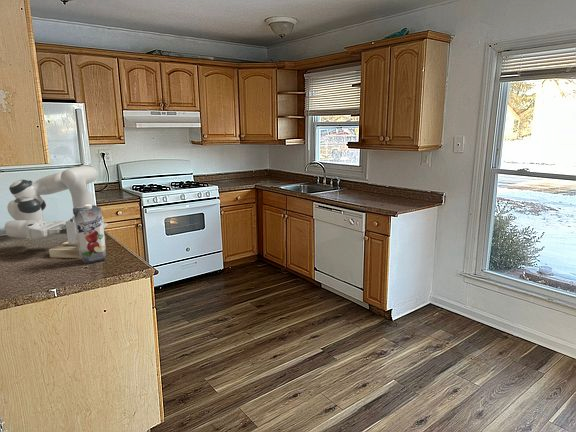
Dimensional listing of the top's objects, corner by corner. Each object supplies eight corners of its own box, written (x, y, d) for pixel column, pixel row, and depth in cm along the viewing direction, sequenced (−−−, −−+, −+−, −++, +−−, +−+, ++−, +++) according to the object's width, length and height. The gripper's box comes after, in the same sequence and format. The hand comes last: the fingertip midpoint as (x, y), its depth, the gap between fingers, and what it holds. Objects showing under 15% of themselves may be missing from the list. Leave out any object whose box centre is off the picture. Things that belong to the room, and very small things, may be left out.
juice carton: (79, 260, 189) (71, 204, 183) (102, 256, 195) (96, 201, 190) (84, 265, 182) (76, 207, 176) (108, 260, 189) (101, 204, 183)
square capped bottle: (73, 242, 204) (70, 217, 201) (82, 242, 203) (79, 217, 201) (68, 245, 199) (65, 219, 197) (77, 245, 199) (73, 219, 196)
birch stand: (71, 246, 212) (69, 232, 210) (101, 246, 211) (99, 232, 209) (50, 257, 194) (47, 241, 192) (82, 257, 193) (79, 241, 191)
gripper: (52, 229, 211) (77, 229, 210) (25, 240, 191) (53, 240, 190) (50, 218, 210) (76, 217, 209) (23, 227, 190) (51, 227, 189)
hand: (65, 228), depth 200 cm, fingers open, 8 cm apart
